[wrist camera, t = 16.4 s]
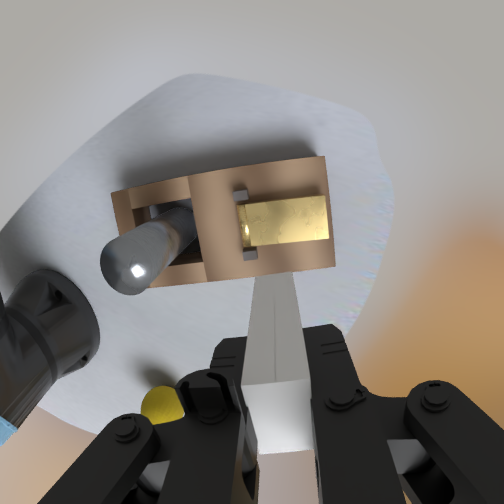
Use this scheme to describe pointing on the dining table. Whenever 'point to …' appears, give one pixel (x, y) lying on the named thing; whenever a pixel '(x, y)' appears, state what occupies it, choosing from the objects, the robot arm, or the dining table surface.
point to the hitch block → (232, 220)
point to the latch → (283, 220)
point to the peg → (146, 250)
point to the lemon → (162, 405)
